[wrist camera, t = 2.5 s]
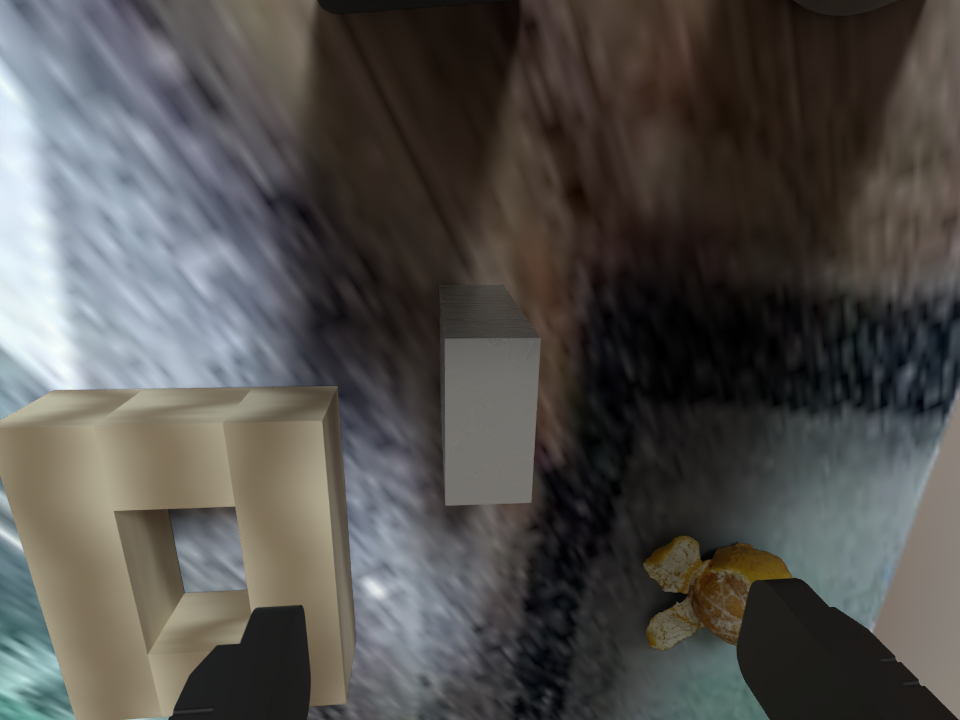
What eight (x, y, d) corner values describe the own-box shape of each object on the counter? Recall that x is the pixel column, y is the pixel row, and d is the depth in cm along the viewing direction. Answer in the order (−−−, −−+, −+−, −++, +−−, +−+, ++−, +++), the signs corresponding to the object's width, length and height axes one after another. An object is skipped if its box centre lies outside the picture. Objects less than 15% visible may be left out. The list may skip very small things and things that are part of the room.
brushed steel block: (502, 284, 25) (540, 338, 17) (498, 401, 27) (531, 502, 18) (439, 284, 25) (444, 338, 16) (440, 402, 27) (445, 505, 18)
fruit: (644, 535, 30) (676, 579, 26) (780, 511, 31) (828, 551, 27) (644, 649, 32) (673, 703, 29) (769, 624, 33) (812, 674, 30)
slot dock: (337, 385, 26) (322, 420, 22) (356, 640, 31) (346, 703, 27) (53, 390, 25) (-15, 428, 21) (121, 654, 30) (77, 722, 26)
